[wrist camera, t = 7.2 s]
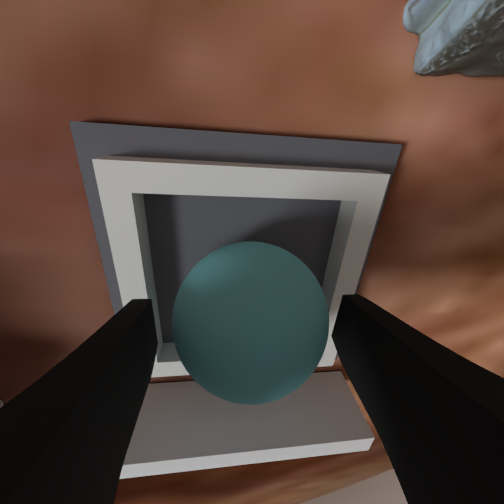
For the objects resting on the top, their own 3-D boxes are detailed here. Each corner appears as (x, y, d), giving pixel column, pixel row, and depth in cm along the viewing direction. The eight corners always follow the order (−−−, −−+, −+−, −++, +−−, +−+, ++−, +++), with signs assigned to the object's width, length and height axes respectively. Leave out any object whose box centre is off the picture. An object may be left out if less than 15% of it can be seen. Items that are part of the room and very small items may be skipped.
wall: (122, 398, 15) (91, 482, 11) (118, 385, 14) (85, 469, 11) (336, 382, 17) (368, 450, 13) (340, 370, 16) (374, 437, 13)
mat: (131, 362, 14) (119, 393, 12) (78, 121, 8) (45, 119, 7) (332, 351, 15) (345, 377, 14) (392, 143, 10) (425, 146, 8)
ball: (185, 324, 12) (166, 454, 7) (177, 219, 10) (141, 307, 5) (291, 319, 13) (338, 433, 8) (308, 221, 11) (389, 298, 6)
